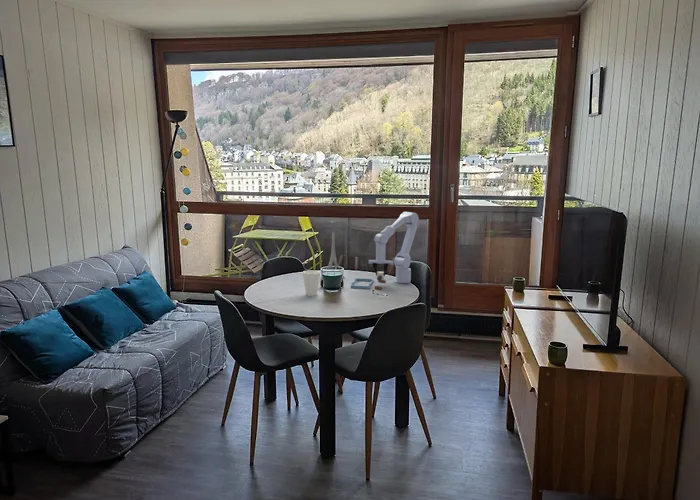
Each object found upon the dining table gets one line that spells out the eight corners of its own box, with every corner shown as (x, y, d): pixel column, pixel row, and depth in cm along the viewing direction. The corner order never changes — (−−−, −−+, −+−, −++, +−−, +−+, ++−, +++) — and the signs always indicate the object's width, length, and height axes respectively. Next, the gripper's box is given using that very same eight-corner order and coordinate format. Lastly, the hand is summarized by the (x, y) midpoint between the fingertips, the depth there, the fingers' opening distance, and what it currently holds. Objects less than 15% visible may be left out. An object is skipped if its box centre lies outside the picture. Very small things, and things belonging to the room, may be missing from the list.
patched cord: (384, 276, 309) (384, 270, 308) (382, 281, 298) (382, 274, 297) (378, 276, 310) (378, 270, 309) (375, 280, 298) (376, 274, 298)
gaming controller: (344, 286, 302) (344, 270, 300) (343, 288, 296) (343, 272, 294) (321, 285, 303) (321, 269, 302) (319, 288, 297) (319, 271, 296)
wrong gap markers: (385, 281, 314) (385, 279, 313) (381, 289, 294) (381, 287, 294) (379, 281, 314) (379, 279, 314) (374, 289, 295) (374, 286, 295)
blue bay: (373, 281, 315) (373, 277, 314) (369, 288, 296) (369, 285, 296) (356, 280, 317) (356, 277, 316) (350, 287, 298) (350, 284, 298)
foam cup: (317, 297, 278) (317, 274, 276) (301, 296, 280) (300, 273, 278) (321, 292, 287) (321, 270, 285) (306, 291, 289) (305, 269, 287)
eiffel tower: (321, 275, 332) (321, 230, 327) (341, 274, 334) (341, 230, 329) (324, 279, 319) (324, 233, 314) (345, 278, 321) (345, 232, 316)
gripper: (367, 254, 298) (367, 276, 301) (392, 255, 296) (391, 277, 298) (369, 252, 305) (369, 273, 308) (393, 253, 303) (392, 274, 305)
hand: (380, 275), depth 303 cm, fingers closed on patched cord, 4 cm apart
